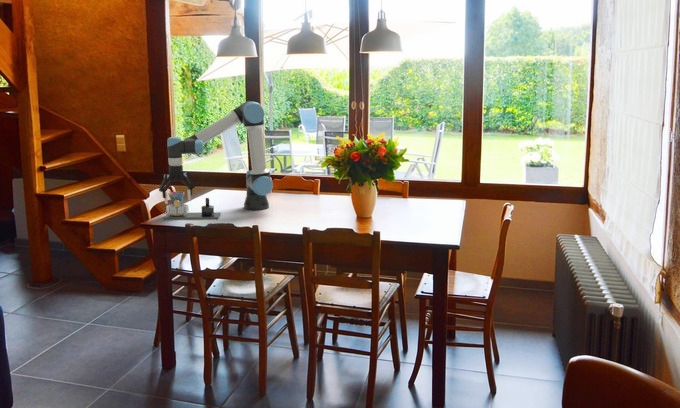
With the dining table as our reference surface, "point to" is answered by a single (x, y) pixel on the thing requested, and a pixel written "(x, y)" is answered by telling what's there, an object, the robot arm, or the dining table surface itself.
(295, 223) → the dining table surface
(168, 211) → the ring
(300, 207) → the dining table surface
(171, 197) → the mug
